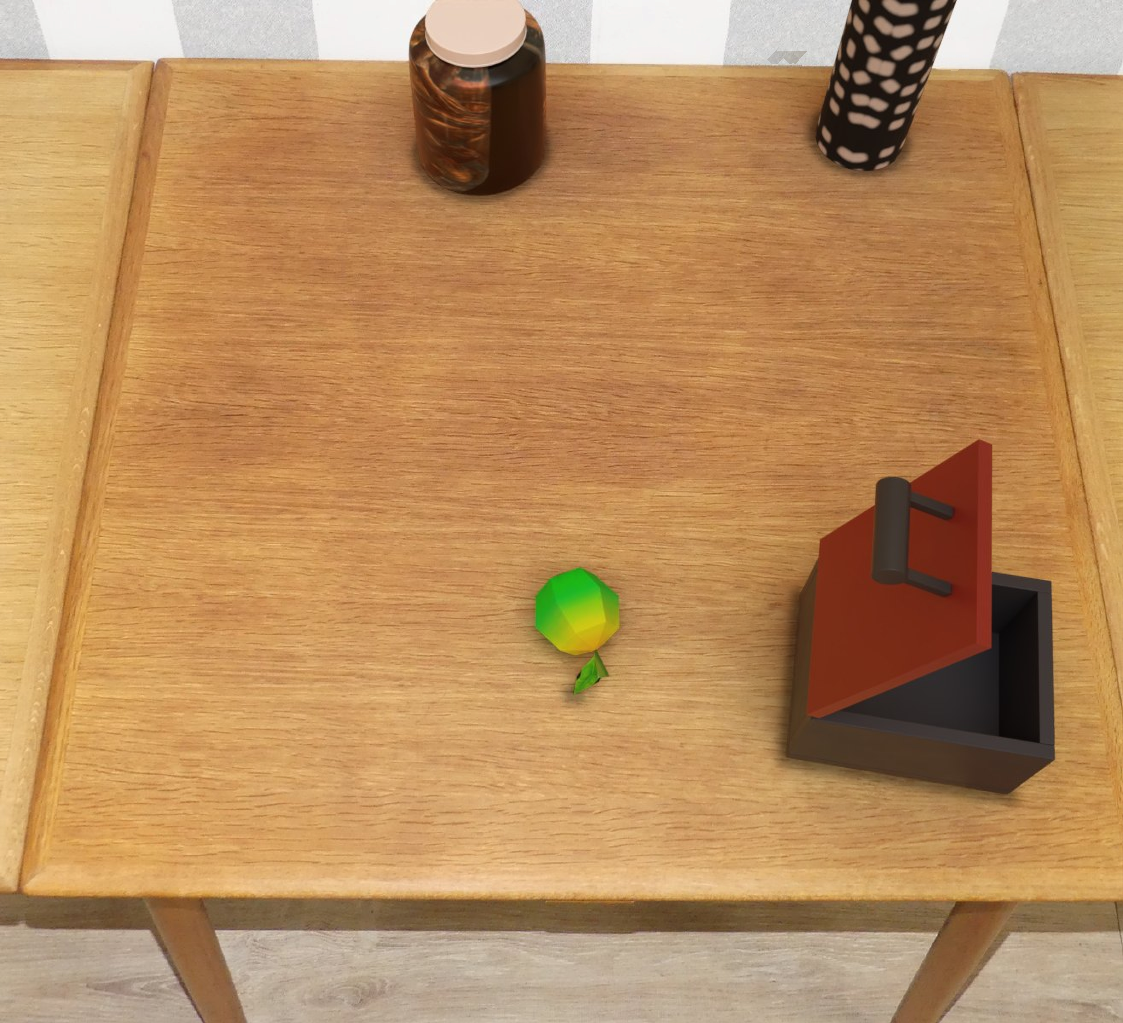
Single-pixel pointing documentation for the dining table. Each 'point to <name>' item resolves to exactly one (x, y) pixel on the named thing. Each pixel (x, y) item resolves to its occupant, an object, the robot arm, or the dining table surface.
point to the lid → (905, 584)
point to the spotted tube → (879, 79)
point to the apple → (578, 618)
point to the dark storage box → (946, 704)
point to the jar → (479, 94)
